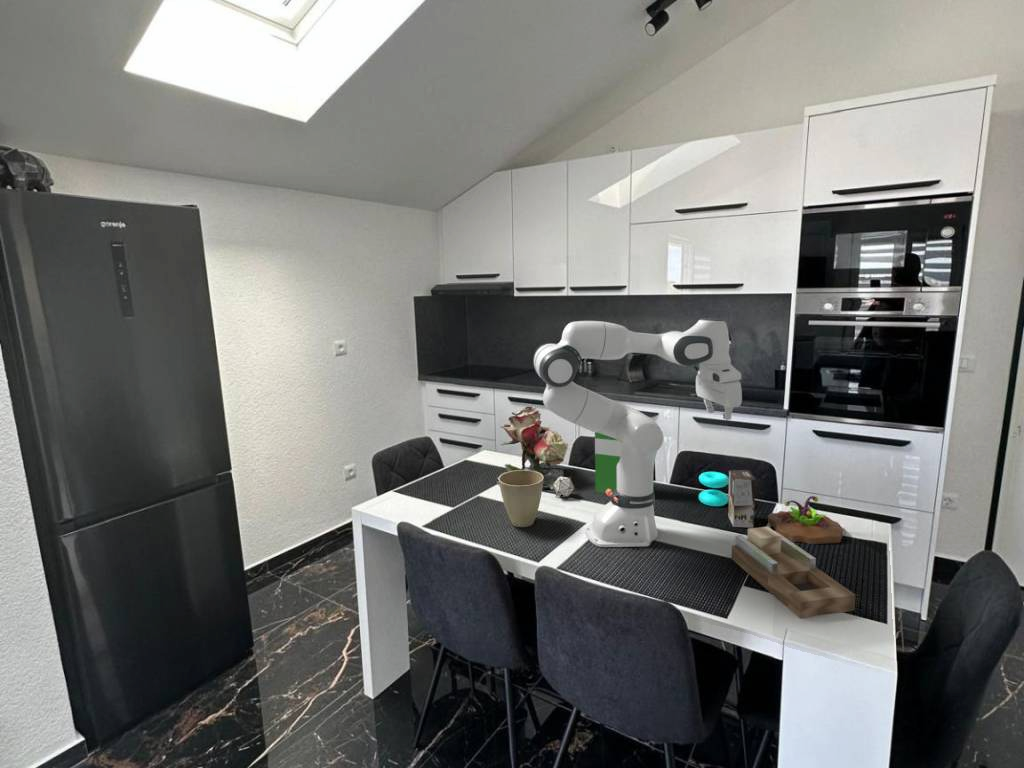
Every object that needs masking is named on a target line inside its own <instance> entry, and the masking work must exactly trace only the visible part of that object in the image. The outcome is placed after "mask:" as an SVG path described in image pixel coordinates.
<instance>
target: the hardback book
mask: <svg viewBox="0 0 1024 768" xmlns="http://www.w3.org/2000/svg"><path fill="white" fill-rule="evenodd" d="M621 452H622V444H621V442H620V441H618V440H616V439H614V438H612V437H609V436H606V435H603V434H600V433H596V432H594V463H595V464H594V466H595V467H594V468H595V469H594V470H595V471H594V472H595V473H594V475H595V476H594V477H595V478H594V480H595V482H594V485H595V486H594V487H595V492H597V493H604V494H606V491H607V489H611V490H612V491H613V492H614V491H615V490H616V488H617V464H618V462H619V461H620V457H621Z"/></svg>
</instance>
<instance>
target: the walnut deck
mask: <svg viewBox="0 0 1024 768" xmlns="http://www.w3.org/2000/svg"><path fill="white" fill-rule="evenodd" d="M768 556H769V557H770V558H772V559H773V560H774V561H776V562H777V563H778V574H776V575H771V574H770V573H769V572H768V571H766V570H765V569H764V568H763V567H761V566H760V565H759V564H758V563H757V562H755V561H754V560H753V559H752V558H750V557H749V556H748V555H747V554H745V553H744V552H743V551H742V550H741V549H739V548H738V547H737V546H736V545H735V544H734V545H733V544H732V545H731V558H730V559H731V560H732V561H733V562H735V564H737V565H738V566H739V567H740V568H741V569H743V570H744V571H745V572H746V573H747V574H748V575H750V576H751V578H753V579H754V580H755V581H756V582H758V584H760V585H761V586H762V587H763V588H765V590H766V591H768V592H769V593H770V594H771V595H773V596H774V597H775V598H776V599H777V600H778V601H779V602H780V603H782V604H783V605H784V606H785V607H787V609H788V610H790V611H791V612H792V613H793V614H794V615H795V616H796V617H798V618H799V619H804V618H812V617H817V616H826V615H832V614H838V613H839V614H840V613H846V612H847V613H848V612H852V611H853V612H854V611H855V607H856V593H854V592H852V591H851V590H849V589H848V588H846V587H845V586H844V585H842V584H841V583H839V582H838V581H837V580H835V579H834V578H832V577H831V576H829V574H826V573H825V572H824V571H823V570H821V569H819V568H818V567H817V566H816V567H815V570H809V569H808V568H806V567H805V566H803V565H802V564H801V563H799V562H798V561H796V560H795V559H794V558H792V557H791V556H789V555H788V554H787V553H785V552H784V551H782V550H781V553H779V554H771V555H768Z"/></svg>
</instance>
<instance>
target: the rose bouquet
mask: <svg viewBox="0 0 1024 768" xmlns="http://www.w3.org/2000/svg"><path fill="white" fill-rule="evenodd" d="M511 414H512V415H513V416H509V417H508V421H509V424H507V423H506V424H505V423H504V424H503V426H500V428H501V429H504V431H505V432H506V434H507V435H508V436H509V437H510V438H511V440H510V441H504V442H502V443H500V446H504V445H516V444H518V443H520V446H521V449H522V453H521V468H519V467H517V466H514V465H512V464H511V463H505V464H504V467H505V468H506V471H507V472H510V471H515V470H530V471H536V472H539V473H541V474H542V475H543V477H544V478H543V486H548V485H549V488H548V487H542V490H544V489H550V490H554V487H553V485H550V484H554V482H555V481H556V480H557V479H558V478H559V475H560V476H561V477H564V471H563V472H561V473H558V474H554V475H553V474H551V472H552V471H553V470H554V471H556V472H558V471H559V470H560V469H556V468H554V469H553V468H552V466H557V465H560V464H561V463H563V462H564V461H565V460H564V459H565V457H566V453H567V450H568V449H569V448H568V446H569V444H568V443H567V442H565V441H564V440H563V439H564V438H563V439H562V436H561V435H560V434H559V433H558V432H557V431H553V430H551V429H550V427H547V426H542V425H541V424H542V422H543V421H542V420H541V415H542V414H541V412H540V409H539V410H538V409H537V407H535V406H531V405H527V406H525V407H524V408H522V409H519V410H518V412H516V413H515V412H514V411H512V412H511ZM491 454H492V452H491ZM527 461H528V462H529V463H530V465H529V466H526V465H525V464H526V462H527ZM540 462H541V463H543V462H544V463H545V464H546V466H547V468H548V469H543V468H542V467H541V464H540ZM549 468H550V469H549ZM504 473H506V472H505V471H504V472H502V473H501V475H502V474H504ZM498 478H499V476H498V477H497V478H496V485H498V486H500V485H499V481H497V479H498Z"/></svg>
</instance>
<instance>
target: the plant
mask: <svg viewBox="0 0 1024 768" xmlns="http://www.w3.org/2000/svg"><path fill="white" fill-rule="evenodd" d="M811 499H812V500H813V502H814V503H817V502H819V498H818V497H817V496H814V495H810V496H809V497H807V499H806V500H805V502H804V506H802V504H800V503H799V502H798V501H796V500H789V501H788V500H787V501H786V502H784V505H785V506H786V507H789V506H790V503H794V504H796V506H797V508H795V507H792V506H790V507H789V508H790V510H791V511H790V510H789V511H784V510H783V511H782V510H780V511H778V512H771V513H770V514H768V516H767V523H768V524H769V525H770V526H771V527H772V528H773V530H774V531H776V532H778V533H779V534H780V535H782V536H783V537H785V538H786V539H788V540H789V541H791V542H792V543H797V542H799V543H806V544H809V545H820V544H821V545H823V544H839V543H841V542H842V538H843V536H844V528H843V527H842V526H841V524H840V523H839V522H838V521H835V520H833V519H831V518H830V517H828V516H827V515H826V514H823V513H822V514H820V513H817V510H816V509H814V508H813V507H812V506H811V507H809V503H810V500H811Z"/></svg>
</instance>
